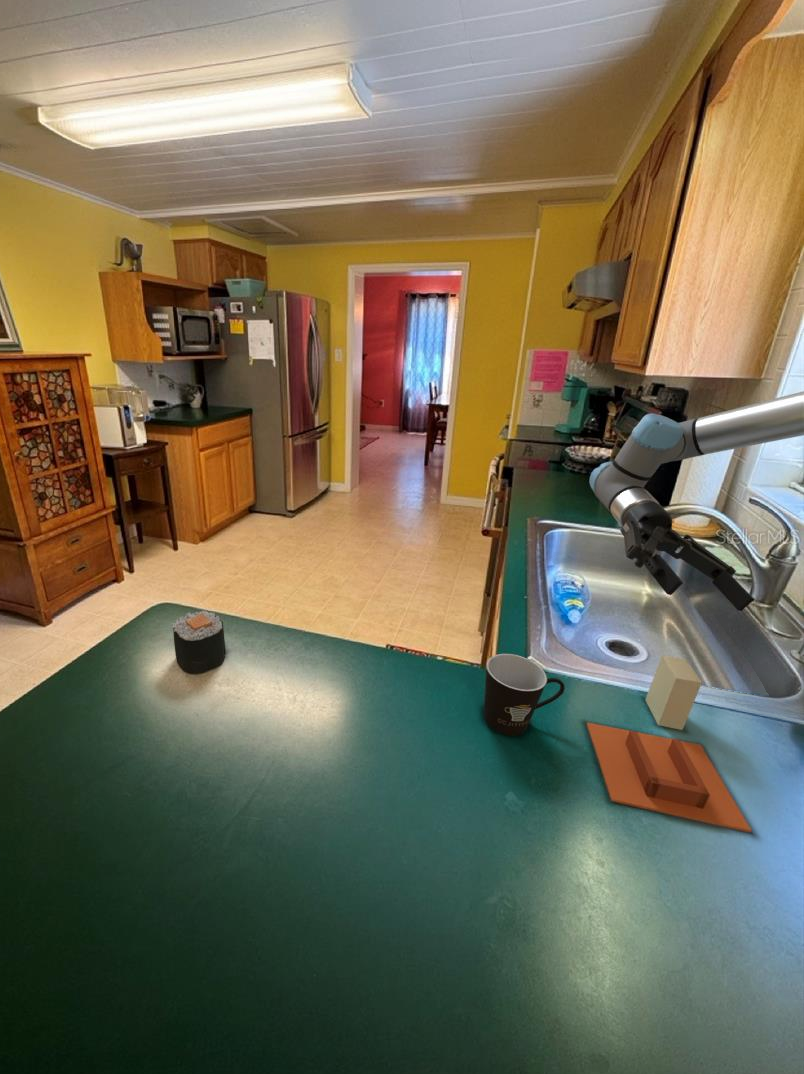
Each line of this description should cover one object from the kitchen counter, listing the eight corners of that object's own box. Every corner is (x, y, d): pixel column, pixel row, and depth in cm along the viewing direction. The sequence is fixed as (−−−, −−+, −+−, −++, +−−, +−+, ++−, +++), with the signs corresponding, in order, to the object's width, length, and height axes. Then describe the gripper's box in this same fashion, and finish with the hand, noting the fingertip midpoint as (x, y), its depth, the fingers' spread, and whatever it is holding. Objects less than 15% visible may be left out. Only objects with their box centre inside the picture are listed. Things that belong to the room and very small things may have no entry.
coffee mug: (471, 733, 71) (482, 679, 68) (480, 698, 79) (490, 648, 75) (553, 760, 67) (569, 705, 64) (554, 720, 75) (569, 669, 71)
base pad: (698, 750, 71) (706, 731, 69) (748, 837, 58) (760, 816, 57) (585, 728, 74) (590, 709, 72) (609, 806, 61) (617, 785, 60)
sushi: (210, 640, 89) (207, 603, 86) (232, 661, 84) (231, 623, 81) (168, 656, 84) (164, 617, 81) (189, 680, 79) (186, 639, 76)
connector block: (666, 708, 79) (685, 658, 75) (680, 734, 74) (702, 682, 70) (643, 703, 80) (661, 654, 76) (656, 729, 74) (676, 678, 71)
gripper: (681, 545, 94) (755, 626, 77) (573, 518, 89) (627, 598, 72) (708, 515, 90) (793, 595, 73) (596, 485, 85) (660, 563, 68)
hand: (711, 597), depth 73 cm, fingers open, 13 cm apart
